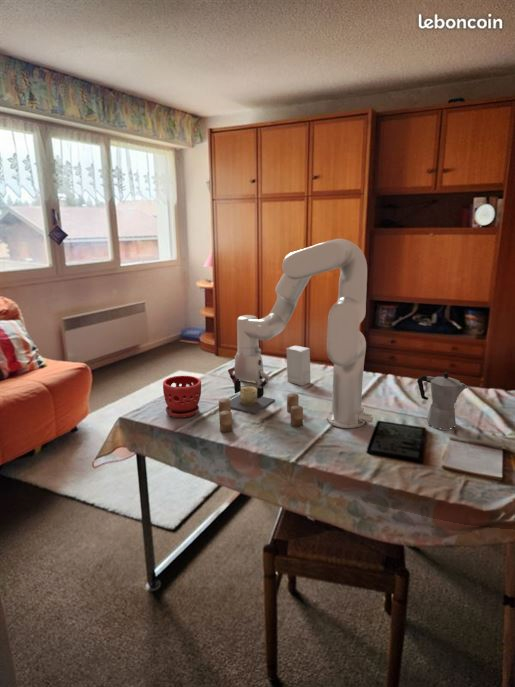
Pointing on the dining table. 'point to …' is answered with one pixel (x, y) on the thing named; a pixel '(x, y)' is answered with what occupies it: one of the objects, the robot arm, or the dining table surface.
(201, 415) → the dining table surface
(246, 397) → the tan faceted block
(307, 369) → the skincare box
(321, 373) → the dining table surface
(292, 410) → the cylinder
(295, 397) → the cylinder
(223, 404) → the cylinder
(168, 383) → the plant pot
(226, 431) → the cylinder
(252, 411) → the mat
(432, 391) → the coffeepot
